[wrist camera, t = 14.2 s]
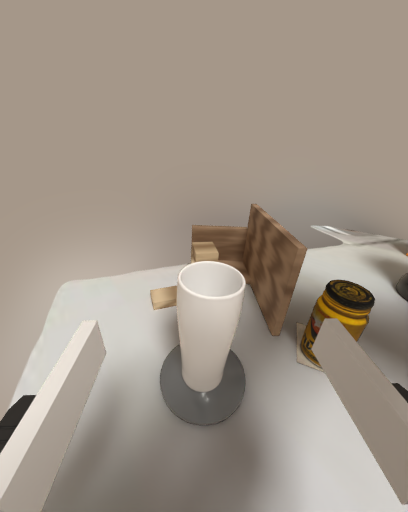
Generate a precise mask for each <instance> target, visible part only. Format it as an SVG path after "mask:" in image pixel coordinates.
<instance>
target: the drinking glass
mask: <svg viewBox="0 0 408 512" xmlns="http://www.w3.org/2000/svg"><path fill="white" fill-rule="evenodd" d="M245 285H246V282H245V278H244V276H243V275H242V274H241V273H240V272H239V271H238V270H237V269H235V268H234V267H232V266H230V265H227V264H224V263H220V262H214V261H201V262H195V263H192V264H189V265H187V266H185V267H184V268H183V269H182V270H181V271H180V272H179V274H178V282H177V320H178V330H179V339H180V349H181V360H182V377H183V379H184V381H185V383H186V384H187V386H188V387H190V388H191V389H192V390H194V391H197V392H209V391H211V390H213V389H215V388H216V387H217V386H218V385H219V383H220V382H221V380H222V377H223V372H224V367H225V364H226V360H227V357H228V354H229V351H230V348H231V345H232V341H233V338H234V335H235V332H236V329H237V326H238V322H239V319H240V315H241V310H242V306H243V300H244V293H245Z"/></svg>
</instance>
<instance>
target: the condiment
mask: <svg viewBox="0 0 408 512" xmlns="http://www.w3.org/2000/svg"><path fill="white" fill-rule="evenodd" d="M374 301H375V298H374V296H373V295H372V293H371V292H370V291H368V290H367V289H365V288H364V287H362V286H360V285H358V284H355V283H353V282H349V281H345V280H332V281H330V282H329V283H328V284H327V285H326V289H325V290H324V292H323V295H321V296H320V297H319V298H318V300H317V302H316V304H315V306H314V309H313V312H312V314H311V317H310V319H309V322H308V324H307V325H303V324H301V323H297V322H296V329H297V362H298V363H301V364H304V365H306V366H309V367H311V368H314V369H317V370H320V371H323V372H324V370H323V369H322V367H321V365H320V363H319V362H318V360H317V358H316V357H315V355H314V353H313V351H312V350H311V349H312V346H313V344H314V342H315V340H316V337H317V335H318V333H319V330H320V328H321V326H322V324H323V321H324V319H332V318H337V319H338V320H339V321H340V323H341V324H342V325H343V326H344V327H345V329H346V330H347V331H348V332H349V333H350V335H351V336H352V337H353V338H354V339H355V341H356V342H357V341H358V339H359V337H360V336H361V334H362V332H363V330H364V329H365V327H366V325H367V324H368V321H369V315H368V314H369V313H370V311H371V308H372V307H373V305H374Z"/></svg>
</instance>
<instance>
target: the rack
mask: <svg viewBox="0 0 408 512" xmlns="http://www.w3.org/2000/svg"><path fill="white" fill-rule="evenodd" d="M192 242H213V244H214V245H215V247H216V249H217V251H218V253H219V256H218V262H220V263H224V264H227V265H230V266H232V267H234V268H235V269H237V270H238V271H239V272H240V273H241V274H242V275H243V276H244V278H245V282H246V284H250V285H251V287H252V290H253V292H254V295H255V297H256V299H257V302H258V304H259V306H260V309H261V311H262V313H263V316H264V318H265V320H266V323H267V325H268V327H269V330H270V332H271V334H272V336H279V335H280V331H281V328H282V325H283V322H284V319H285V316H286V313H287V310H288V307H289V304H290V301H291V298H292V295H293V291H294V288H295V285H296V282H297V279H298V276H299V273H300V270H301V267H302V264H303V261H304V258H305V254H306V251H307V248H306V247H305V246H304V245H303V244H302V243H301V242H299V241H298V240H297V239H296V238H295V237H294V236H292V235H291V234H290V233H289V232H288V231H287V230H285V229H284V228H283V227H282V226H281V225H280V224H279V223H278V222H276V221H275V220H274V219H273V218H272V217H271V216H270V215H268V214H267V213H266V212H265V211H264V210H263V209H262V208H260V207H259V206H258V205H257V204H251V210H250V216H249V222H248V228H247V227H229V226H202V225H192Z"/></svg>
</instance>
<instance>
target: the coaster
mask: <svg viewBox="0 0 408 512" xmlns="http://www.w3.org/2000/svg"><path fill="white" fill-rule="evenodd" d="M160 384H161V391H162V395H163V398H164V400H165V402H166V404H167V406H168V407H169V408H170V410H171V411H172V412H173V413H174V414H175V415H176V416H178V417H179V418H180V419H182V420H184V421H186V422H188V423H191V424H195V425H212V424H216V423H219V422H221V421H223V420H225V419H227V418H228V417H229V416H231V415H232V414H233V413H234V412H235V410H236V409H237V408H238V406H239V404H240V402H241V400H242V397H243V394H244V389H245V374H244V370H243V367H242V364H241V362H240V360H239V359H238V357H237V356H236V355H235V354H234V352H233V351H232V350H231V349H230V351H229V354H228V357H227V360H226V364H225V367H224V372H223V377H222V380H221V382H220V383H219V385H218V386H217V387H216V388H215V389H213V390H211V391H209V392H197V391H194V390H192V389H191V388H190V387H188V386H187V384H186V383H185V381H184V379H183V377H182V360H181V349H180V345H178V346H177V347H175V348H174V349H173V350H172V351H171V352H170V353H169V355H168V356H167V358H166V359H165V361H164V363H163V366H162V369H161V375H160Z"/></svg>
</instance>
